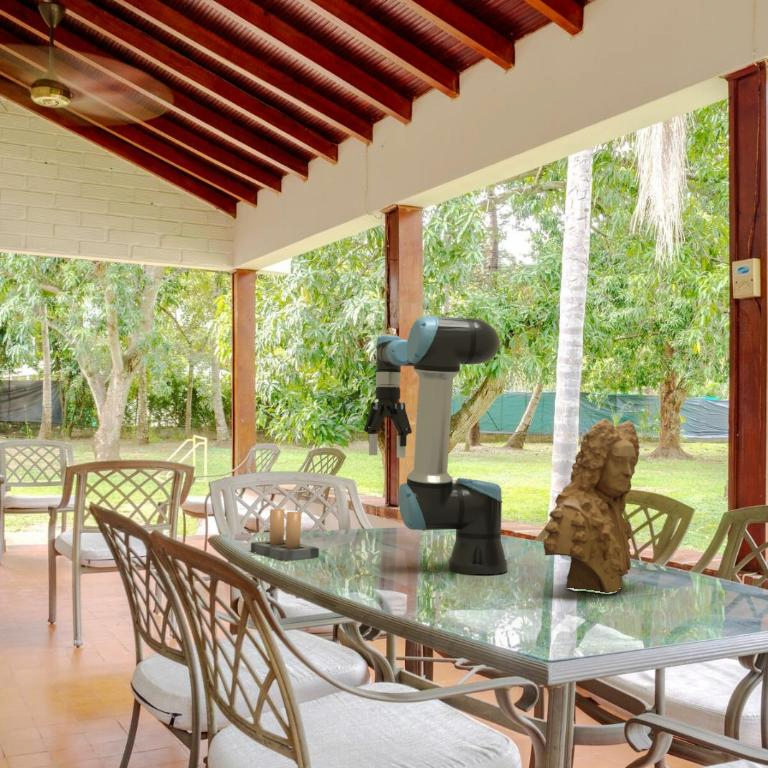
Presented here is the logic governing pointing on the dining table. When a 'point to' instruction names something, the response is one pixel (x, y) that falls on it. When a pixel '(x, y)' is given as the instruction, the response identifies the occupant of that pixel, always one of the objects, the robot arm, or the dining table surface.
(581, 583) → the bust
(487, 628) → the dining table surface
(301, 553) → the housing
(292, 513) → the tan wooden cylinder
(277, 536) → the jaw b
